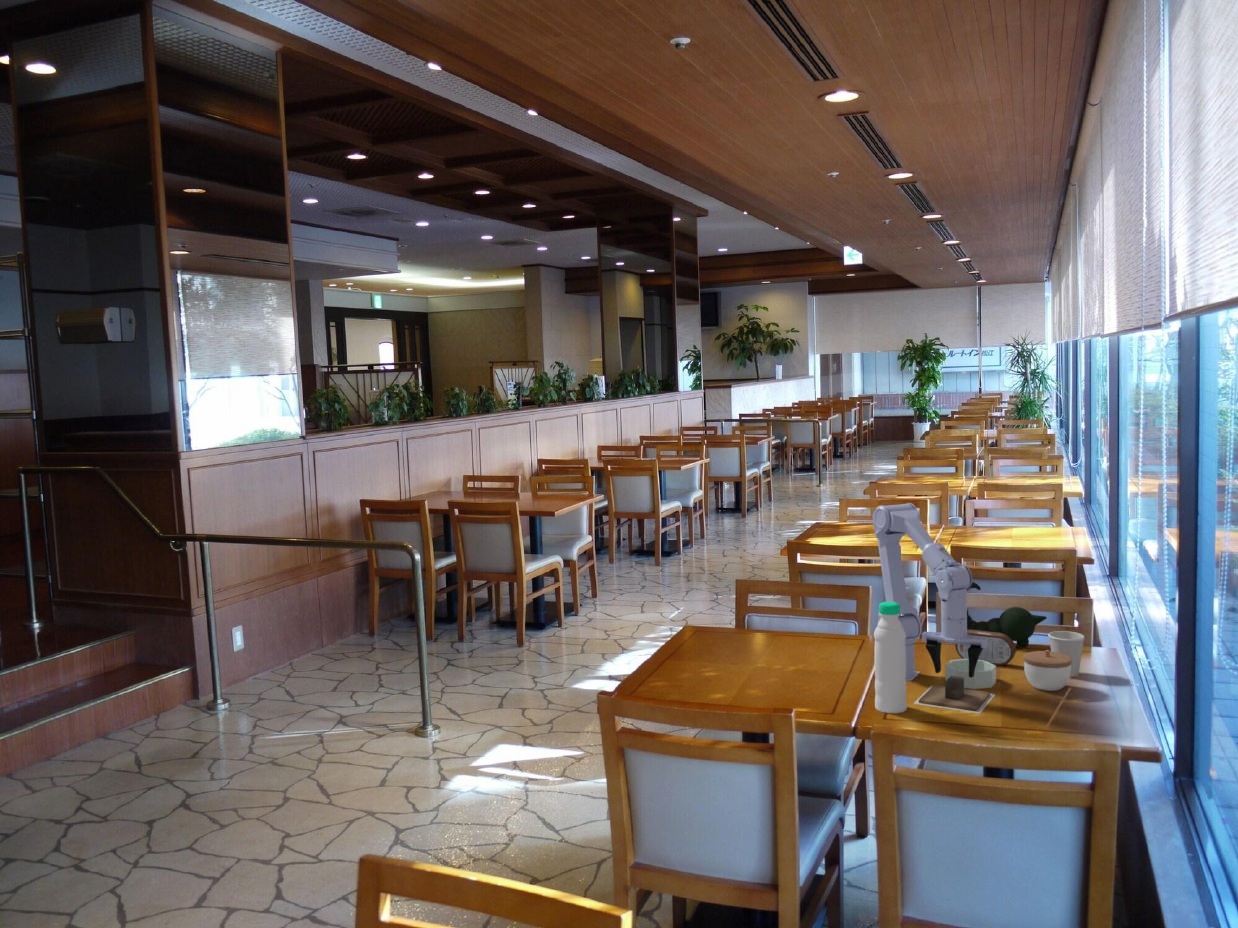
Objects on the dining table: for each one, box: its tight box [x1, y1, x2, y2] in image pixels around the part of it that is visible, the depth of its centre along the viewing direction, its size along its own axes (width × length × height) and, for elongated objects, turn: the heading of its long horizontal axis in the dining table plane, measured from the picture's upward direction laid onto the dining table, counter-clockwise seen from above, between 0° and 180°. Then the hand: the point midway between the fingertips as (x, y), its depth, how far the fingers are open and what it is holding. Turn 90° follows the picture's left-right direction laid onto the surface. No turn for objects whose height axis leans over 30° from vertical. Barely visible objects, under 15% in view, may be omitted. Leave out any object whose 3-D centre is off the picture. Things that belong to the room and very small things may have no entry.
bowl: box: [944, 658, 997, 690], centre depth 244 cm, size 11×11×4 cm
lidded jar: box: [1022, 649, 1072, 692], centre depth 238 cm, size 11×11×9 cm
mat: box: [912, 685, 996, 715], centre depth 232 cm, size 15×15×1 cm
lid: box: [919, 676, 991, 711], centre depth 232 cm, size 13×13×5 cm
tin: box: [954, 630, 1017, 667], centre depth 260 cm, size 15×3×8 cm, turn 58°
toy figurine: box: [967, 581, 1048, 648], centre depth 276 cm, size 9×19×25 cm
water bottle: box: [873, 601, 908, 714], centre depth 226 cm, size 7×7×25 cm
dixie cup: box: [1047, 630, 1085, 678], centre depth 248 cm, size 8×8×10 cm
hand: (954, 674), depth 231 cm, fingers open, 7 cm apart
